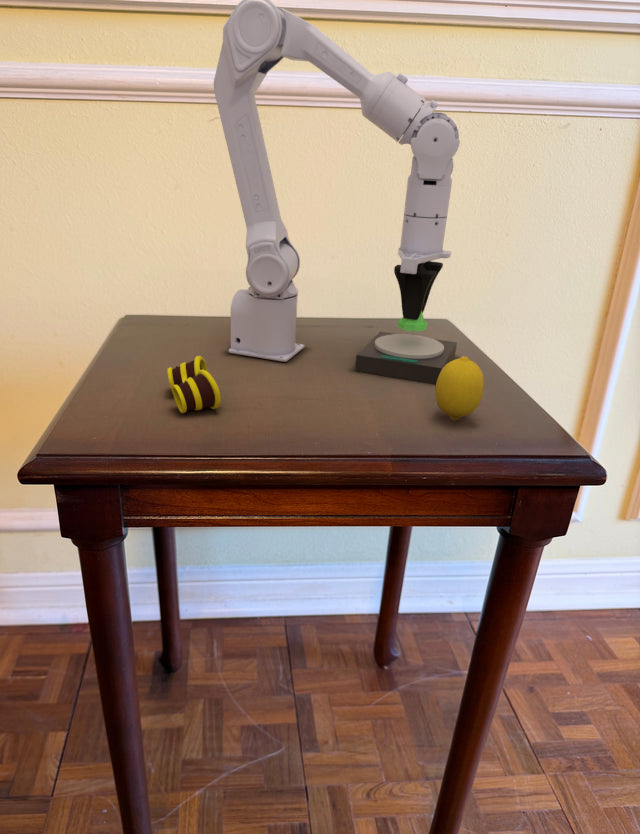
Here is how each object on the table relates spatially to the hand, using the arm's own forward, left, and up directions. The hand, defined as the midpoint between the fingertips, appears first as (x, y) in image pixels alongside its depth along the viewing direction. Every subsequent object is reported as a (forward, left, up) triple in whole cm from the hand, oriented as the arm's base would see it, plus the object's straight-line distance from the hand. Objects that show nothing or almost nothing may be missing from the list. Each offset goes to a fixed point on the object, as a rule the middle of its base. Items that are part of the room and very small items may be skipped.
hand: (412, 316), depth 98 cm
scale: (0, -1, -7) cm, 7 cm away
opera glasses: (-21, -27, -7) cm, 35 cm away
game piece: (0, 0, -2) cm, 2 cm away
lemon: (+10, -18, -7) cm, 22 cm away
